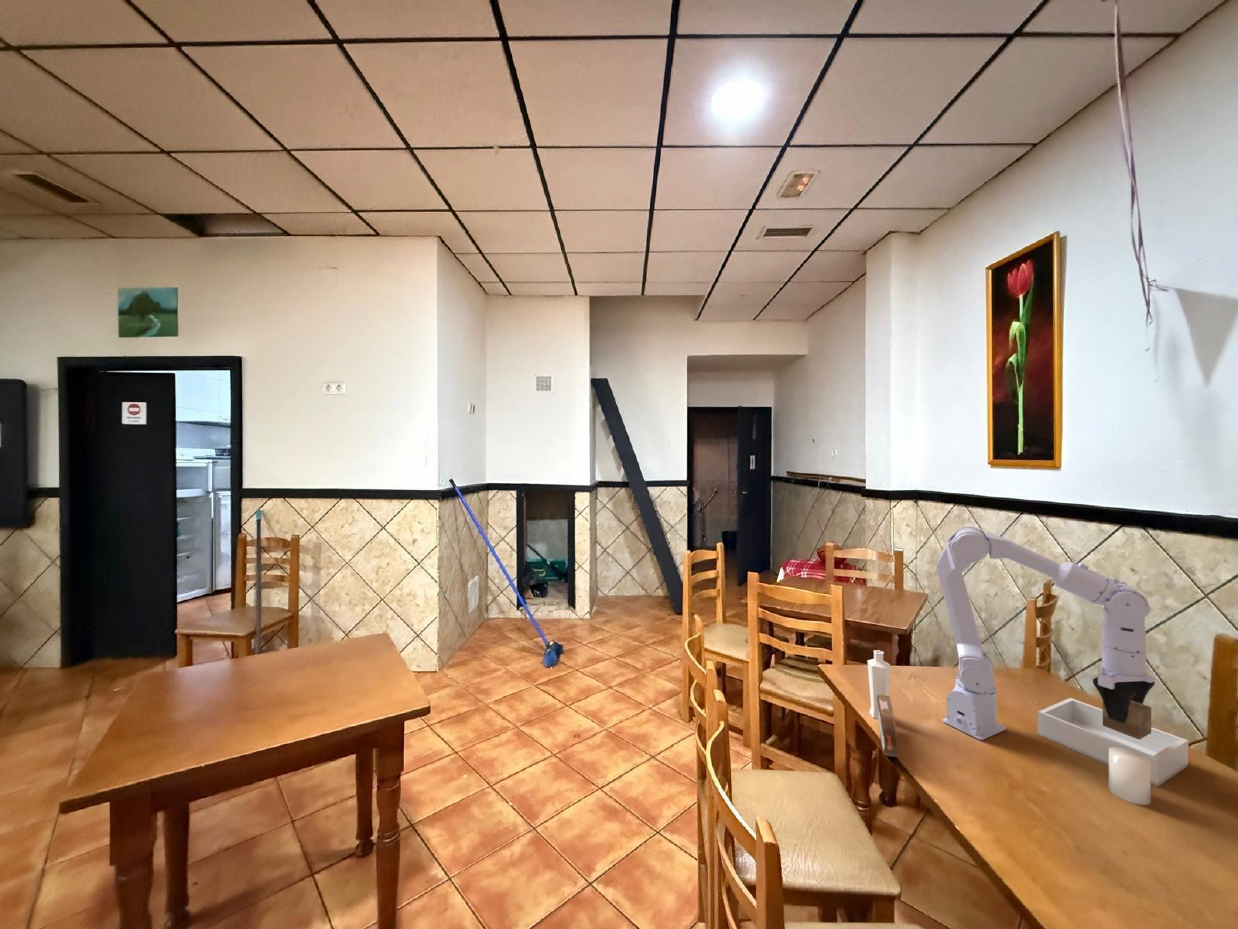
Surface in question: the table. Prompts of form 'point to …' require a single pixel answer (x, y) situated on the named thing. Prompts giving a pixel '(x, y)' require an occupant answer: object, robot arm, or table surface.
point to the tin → (887, 726)
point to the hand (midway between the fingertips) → (1123, 716)
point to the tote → (1110, 738)
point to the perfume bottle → (877, 680)
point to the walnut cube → (1132, 721)
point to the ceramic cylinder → (1130, 775)
